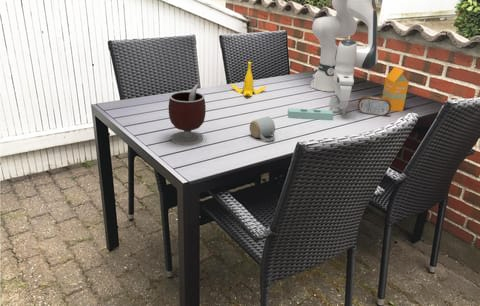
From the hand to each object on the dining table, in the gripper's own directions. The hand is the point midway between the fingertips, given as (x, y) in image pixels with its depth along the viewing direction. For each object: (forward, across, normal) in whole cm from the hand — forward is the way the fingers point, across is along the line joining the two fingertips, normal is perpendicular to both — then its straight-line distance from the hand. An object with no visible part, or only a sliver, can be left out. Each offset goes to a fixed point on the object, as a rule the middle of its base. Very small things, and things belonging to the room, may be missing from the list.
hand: (339, 105), depth 198 cm
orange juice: (+4, -12, +29) cm, 31 cm away
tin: (+4, -1, +17) cm, 17 cm away
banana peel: (+4, -26, -41) cm, 49 cm away
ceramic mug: (+4, +35, -36) cm, 50 cm away
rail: (+4, +8, -14) cm, 17 cm away
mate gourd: (+4, +40, -65) cm, 77 cm away
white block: (+4, 0, 0) cm, 4 cm away
